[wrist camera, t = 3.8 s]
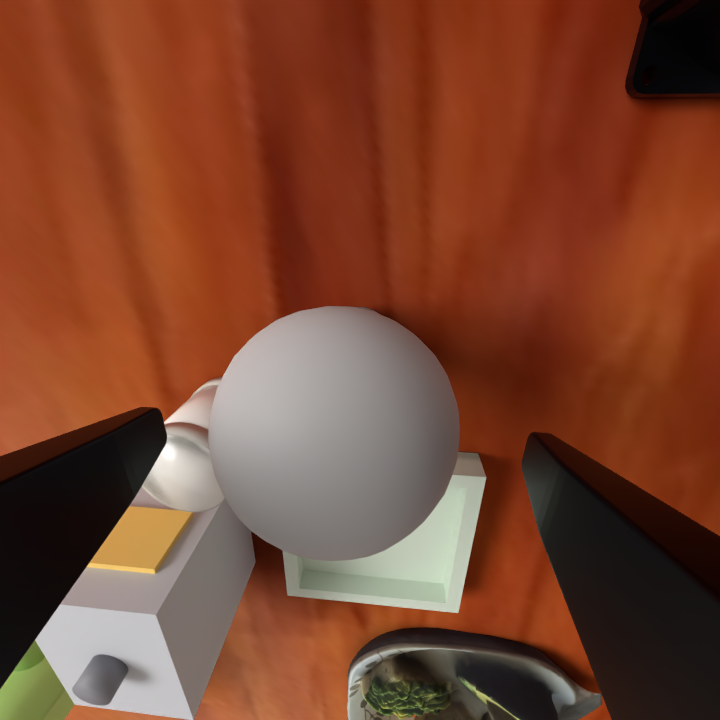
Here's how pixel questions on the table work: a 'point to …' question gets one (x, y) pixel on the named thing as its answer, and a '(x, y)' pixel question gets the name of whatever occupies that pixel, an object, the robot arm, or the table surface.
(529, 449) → the robot arm
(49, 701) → the gearbox
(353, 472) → the lightbulb
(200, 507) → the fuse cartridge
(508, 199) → the table surface
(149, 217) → the table surface
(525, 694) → the salad plate
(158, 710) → the box
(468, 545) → the tray
